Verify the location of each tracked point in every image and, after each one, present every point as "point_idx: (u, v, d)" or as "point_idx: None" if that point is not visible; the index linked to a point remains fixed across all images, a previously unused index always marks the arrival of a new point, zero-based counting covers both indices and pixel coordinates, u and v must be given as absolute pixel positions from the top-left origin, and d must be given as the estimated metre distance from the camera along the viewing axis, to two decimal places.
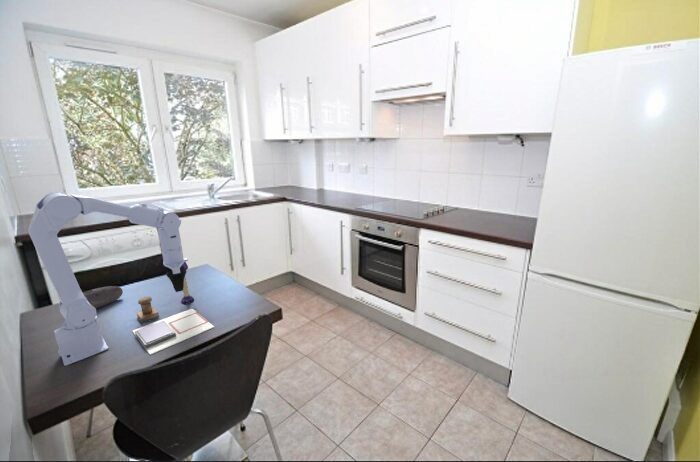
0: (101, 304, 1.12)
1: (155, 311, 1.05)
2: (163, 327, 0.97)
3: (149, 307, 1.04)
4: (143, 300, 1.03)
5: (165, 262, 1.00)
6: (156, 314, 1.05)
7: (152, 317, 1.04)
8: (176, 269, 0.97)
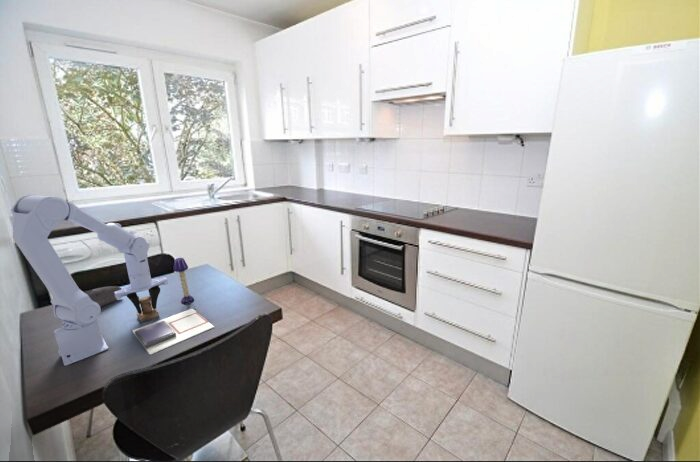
0: (101, 304, 1.12)
1: (155, 311, 1.05)
2: (163, 327, 0.97)
3: (149, 307, 1.04)
4: (143, 300, 1.03)
5: None
6: (156, 314, 1.05)
7: (152, 317, 1.04)
8: (115, 294, 0.97)
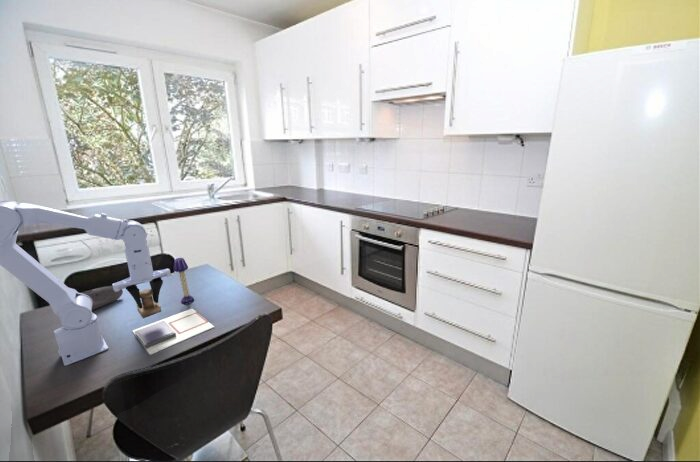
0: (101, 304, 1.12)
1: (157, 305, 0.97)
2: (163, 327, 0.97)
3: (150, 301, 0.95)
4: (144, 294, 0.94)
5: None
6: (158, 308, 0.97)
7: (154, 312, 0.96)
8: (113, 286, 0.88)
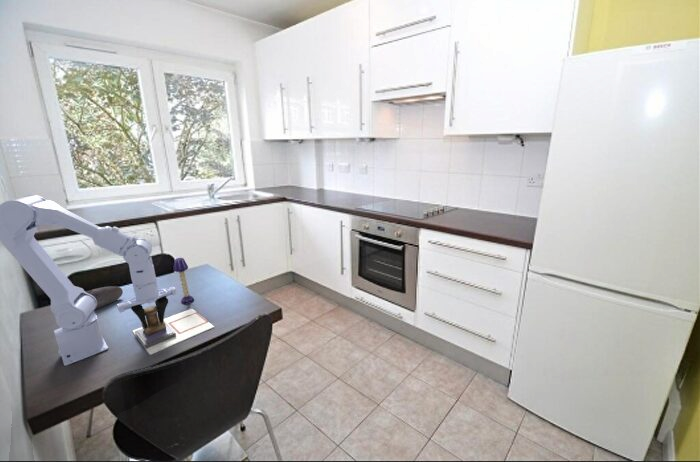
0: (101, 304, 1.12)
1: None
2: None
3: (155, 318, 0.93)
4: (148, 311, 0.92)
5: None
6: (163, 326, 0.95)
7: (158, 329, 0.94)
8: (118, 307, 0.86)
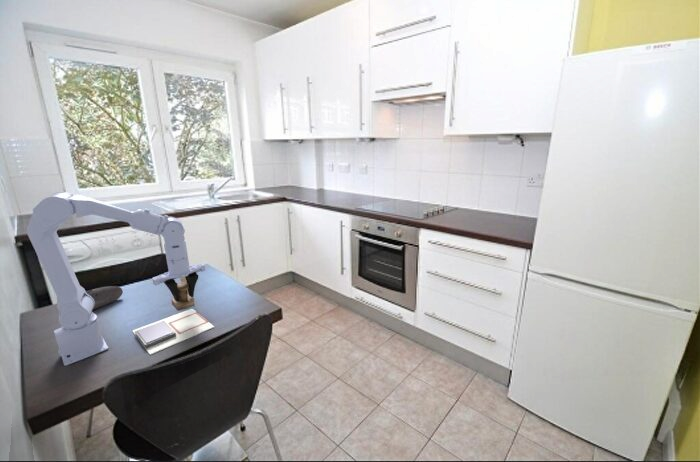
0: (101, 304, 1.12)
1: (191, 299, 1.00)
2: (163, 327, 0.97)
3: (185, 294, 0.99)
4: (180, 287, 0.98)
5: None
6: (192, 302, 1.00)
7: (188, 305, 0.99)
8: (153, 280, 0.92)
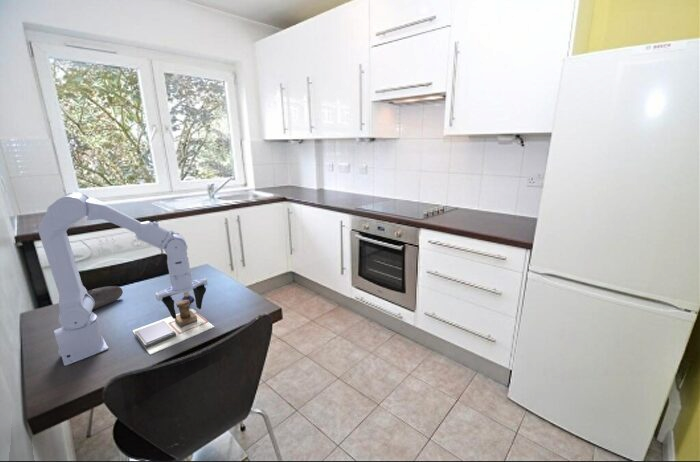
0: (101, 304, 1.12)
1: (193, 315, 1.02)
2: (163, 327, 0.97)
3: (187, 311, 1.01)
4: (181, 303, 1.00)
5: None
6: (194, 318, 1.01)
7: (190, 321, 1.01)
8: (156, 296, 0.93)
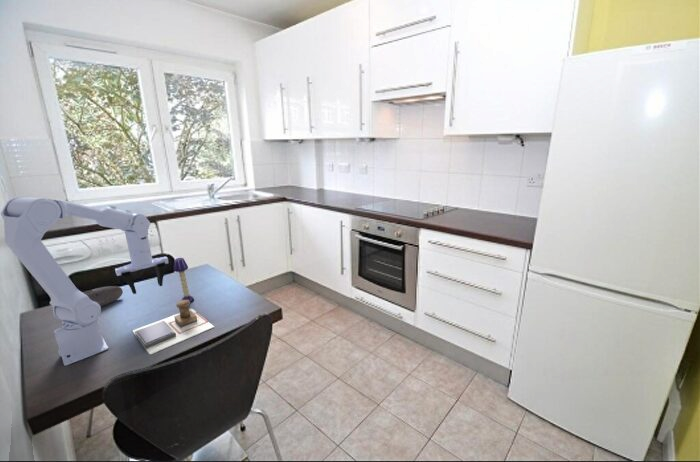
0: (101, 304, 1.12)
1: (193, 315, 1.02)
2: (163, 327, 0.97)
3: (187, 311, 1.01)
4: (181, 303, 1.00)
5: None
6: (194, 318, 1.01)
7: (190, 321, 1.01)
8: (116, 271, 0.98)
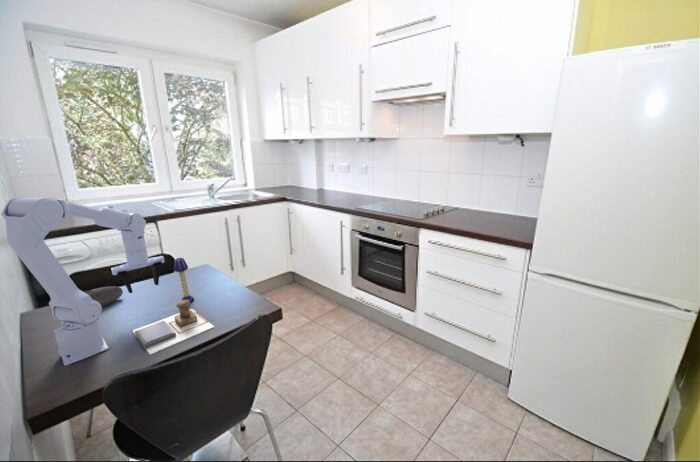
0: (101, 304, 1.12)
1: (193, 315, 1.02)
2: (163, 327, 0.97)
3: (187, 311, 1.01)
4: (181, 303, 1.00)
5: None
6: (194, 318, 1.01)
7: (190, 321, 1.01)
8: (112, 270, 0.98)
